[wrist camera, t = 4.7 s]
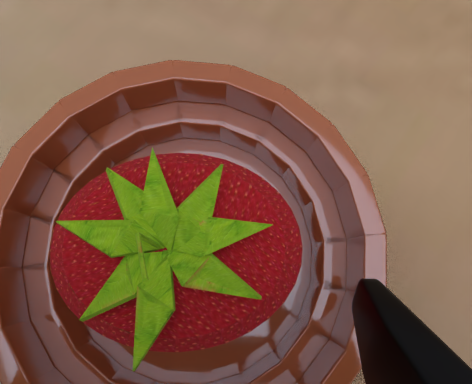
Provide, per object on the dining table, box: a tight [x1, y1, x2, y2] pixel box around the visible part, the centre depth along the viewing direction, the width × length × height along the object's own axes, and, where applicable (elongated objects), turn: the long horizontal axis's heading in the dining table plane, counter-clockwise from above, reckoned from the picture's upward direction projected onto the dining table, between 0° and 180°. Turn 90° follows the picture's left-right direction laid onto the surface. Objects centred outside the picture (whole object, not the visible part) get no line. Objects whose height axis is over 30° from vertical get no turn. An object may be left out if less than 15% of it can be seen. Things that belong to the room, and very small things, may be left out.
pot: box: [0, 60, 387, 384], centre depth 16 cm, size 14×14×5 cm
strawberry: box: [49, 147, 303, 371], centre depth 13 cm, size 6×8×10 cm
